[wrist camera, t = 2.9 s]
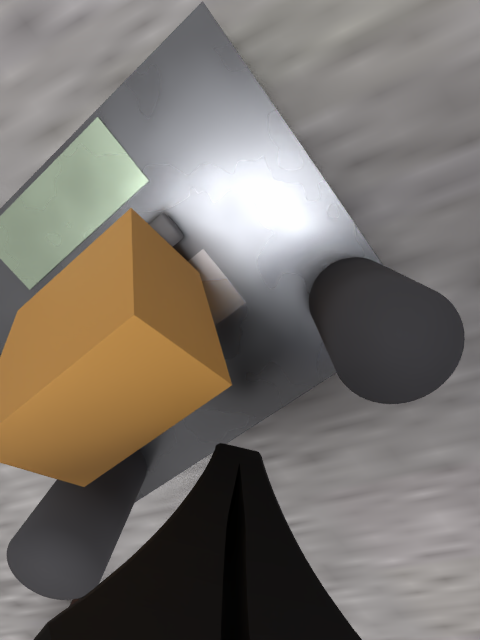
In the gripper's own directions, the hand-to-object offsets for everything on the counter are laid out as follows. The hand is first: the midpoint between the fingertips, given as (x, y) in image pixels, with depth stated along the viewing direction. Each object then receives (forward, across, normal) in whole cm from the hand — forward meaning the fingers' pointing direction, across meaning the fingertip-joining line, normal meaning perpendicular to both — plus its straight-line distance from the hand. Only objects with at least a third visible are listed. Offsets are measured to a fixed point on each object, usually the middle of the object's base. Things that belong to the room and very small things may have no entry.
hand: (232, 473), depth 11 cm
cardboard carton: (+3, +6, -4) cm, 8 cm away
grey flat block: (+6, +4, -3) cm, 8 cm away
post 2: (+3, -3, -6) cm, 7 cm away
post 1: (+3, +5, +4) cm, 7 cm away
